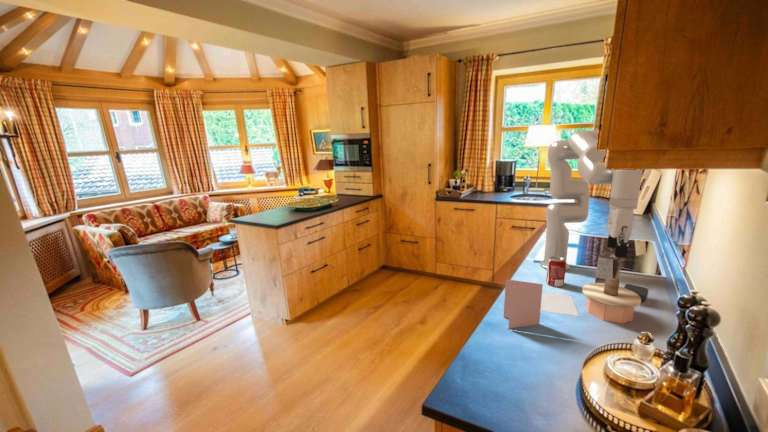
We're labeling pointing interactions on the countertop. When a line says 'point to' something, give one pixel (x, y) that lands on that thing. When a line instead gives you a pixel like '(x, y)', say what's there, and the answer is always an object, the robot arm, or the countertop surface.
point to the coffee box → (607, 267)
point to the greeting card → (522, 303)
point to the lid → (611, 294)
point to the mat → (558, 304)
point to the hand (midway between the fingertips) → (616, 252)
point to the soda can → (556, 271)
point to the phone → (638, 291)
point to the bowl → (609, 312)
